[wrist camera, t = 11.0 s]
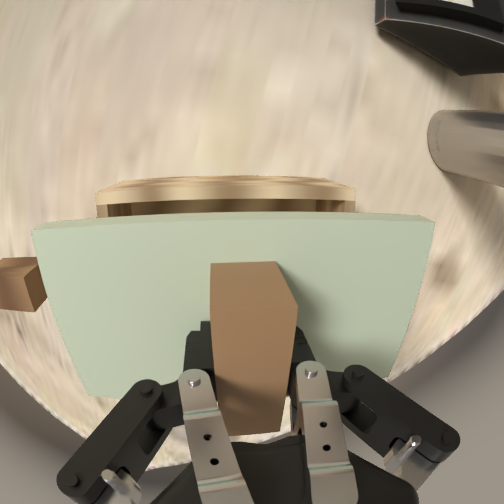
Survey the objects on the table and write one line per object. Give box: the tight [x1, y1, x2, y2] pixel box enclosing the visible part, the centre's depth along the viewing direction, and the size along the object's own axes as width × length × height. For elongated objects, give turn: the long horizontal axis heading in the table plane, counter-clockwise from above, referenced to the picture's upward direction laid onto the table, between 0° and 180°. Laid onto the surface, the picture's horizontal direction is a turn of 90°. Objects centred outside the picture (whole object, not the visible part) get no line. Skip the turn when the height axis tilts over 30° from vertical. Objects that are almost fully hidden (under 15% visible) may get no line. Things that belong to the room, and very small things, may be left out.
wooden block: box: [0, 257, 47, 312], centre depth 17 cm, size 6×3×4 cm, turn 89°
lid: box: [31, 212, 435, 436], centre depth 13 cm, size 22×12×6 cm, turn 89°
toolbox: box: [95, 176, 356, 218], centre depth 26 cm, size 25×12×10 cm, turn 89°
